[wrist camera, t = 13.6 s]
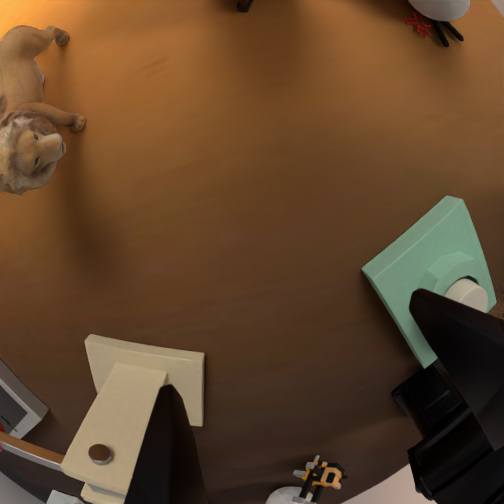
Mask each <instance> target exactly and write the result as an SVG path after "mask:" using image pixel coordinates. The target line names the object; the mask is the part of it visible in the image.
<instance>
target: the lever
mask: <svg viewBox="0 0 504 504" xmlns="http://www.w3.org/2000/svg"><path fill="white" fill-rule="evenodd" d="M3 449H6V450H8V451H10V452H12V453H15V454H17V455H19V456H22V457H24V458H26V459H29V460H31V461H34V462H36V463H39V464H42V465H44V466H47V467H50V468H53V469H56V470H59V471H62V472H63V470H62V469H61V467H60V465H61V463H62V461H63V459H64V457H65V455H63V454H59V453H56V452H53V451H50V450H47V449H44V448H41V447H39V446H36V445H33V444H31V443H28V442H25V441H23V440H20V439H18V438H16V437H13V436H11V435H9V434H6V432H5V429H4V427H3V425H2V423H1V422H0V452H1V451H2V450H3ZM87 484H88V486H89V487H90V489H91V490H92V492H96V493H100V494H104V495H108V496H113V497H117V498H122V499H125V498H126V495H124V494H120V493H117V492H113V491H110V490H107V489H104V488H101V487H98V486H95V485H92V484H89V483H87Z"/></svg>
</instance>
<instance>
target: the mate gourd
mask: <svg viewBox="0 0 504 504" xmlns="http://www.w3.org/2000/svg"><path fill="white" fill-rule="evenodd" d="M252 2H253V0H239V2H238V5H237V10H238V11H241V12H248V10H249V8H250V6H251V4H252Z"/></svg>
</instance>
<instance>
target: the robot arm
mask: <svg viewBox="0 0 504 504" xmlns="http://www.w3.org/2000/svg"><path fill="white" fill-rule="evenodd" d="M409 312H410V314H411V315H412V317H413V319H414V320H415V322H416V324H417V326H418V327H419V329H420V331H421V333H422V334H423V336H424V338H425V340H426V341H427V343H428V344H429V346H430V347H431V349H432V350H433V352H434V353H435V355H436V356H437V359H436V360H435V361H434V362H433V363H431V364H430V365H429V366H428V367H426V368H423V369H421V370H420V371H419V372H418V373H416V374H415V375H414V376H412V377H411V378H410V379H408V380H407V381H406V382H404V383H403V384H401V385H400V386H399V387H397V388H396V389H394V390H393V392H392V395H393V397H394V398H395V400H396V401H397V402H398V404H399V405H400V406H401V408H402V409H403V410H404V412H405V413H406V414H407V416H408V417H409V418H410V419H413V421H414V423H415V425H416V426H417V428H418V430H419V432H420V434H421V436H422V438H423V440H422V441H420V442H419V443H418V444H416V445H415V446H414V447H411V448H409V449H408V450H407V452H408V455H409V457H408V459H409V463H410V466H411V470H412V474H413V478H414V482H415V489H416V491H417V492H418V493H422V494H423V495H424V497H425V498H426V499H428V500H430V501H432V500H434V501H435V502H436V503H437V504H504V320H502V319H499V318H497V317H494V316H492V315H489V314H487V313H485V312H482V311H480V310H477V309H475V308H472V307H470V306H467V305H465V304H462V303H460V302H457V301H455V300H452V299H450V298H447V297H445V296H442V295H439V294H437V293H434V292H432V291H429V290H427V289H424V288H418V289H417V290H415V291H413V292H412V294H411V298H410V302H409ZM132 477H133V478H131V481H130V485H129V488H128V491H127V494H126V498H125V501H124V503H123V504H208V500H207V496H206V491H205V487H204V483H203V478H202V473H201V469H200V464H199V459H198V454H197V449H196V443H195V439H194V436H193V432H192V429H191V426H190V422H189V419H188V416H187V412H186V409H185V405H184V402H183V399H182V397H181V395H180V394H179V392H178V391H177V390H176V388H175V387H174V386H173V385H172V384H168V385H164V386H161V387H160V388H159V391H158V394H157V397H156V400H155V403H154V406H153V409H152V412H151V415H150V418H149V422H148V425H147V428H146V431H145V434H144V438H143V441H142V444H141V447H140V451H139V454H138V457H137V461H136V464H135V467H134V471H133V474H132Z"/></svg>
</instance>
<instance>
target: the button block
mask: <svg viewBox="0 0 504 504" xmlns="http://www.w3.org/2000/svg"><path fill="white" fill-rule="evenodd" d="M361 270H362V271H363V273H364V274H365V276H366V277H367V279H368V280H369V282H370V283H371V285H372V286H373V288H374V289H375V291H376V293H377V294H378V296H379V297H380V299H381V300H382V302H383V304H384V305H385V307H386V308H387V310H388V312H389V313H390V315H391V317H392V318H393V320H394V321H395V323H396V325H397V326H398V328H399V330H400V331H401V333H402V335H403V337H404V338H405V340H406V342H407V343H408V345H409V347H410V349H411V350H412V352H413V354H414V356H415V357H416V358H417V359H418V361H419V362H420V363H421V365H422V366H423V367H424V368H426V367H428V366H429V365H430V364H431V363H433V362H434V361H435V360H436V359H437V356H436V355H435V353H434V352H433V350H432V349H431V347H430V346H429V344H428V343H427V341H426V340H425V338H424V336H423V334H422V333H421V331H420V329H419V327H418V326H417V324H416V322H415V320H414V319H413V317H412V315H411V314H410V312H409V302H410V298H411V294H412V292H413V291H415V290H417V289H418V288H424V289H427V290H429V291H432V292H434V293H437V294H439V295H442V296H444V294H445V292H446V291H447V289H448V288H449V287H450V286H451V285H452V284H453V283H454V282H456V281H458V280H460V279H469V280H471V281H473V282H474V283H476V284H477V285H479V286H480V287H482V288H483V289H484V290H485V291H486V293H487V295H488V306H487V310H486V313H487V312H488V311H489V310H490V309H491V308H492V307H493V306H494V305H495V304H496V303H497V302H496V297H495V293H494V289H493V285H492V281H491V278H490V274H489V271H488V267H487V264H486V261H485V257H484V254H483V251H482V248H481V245H480V242H479V239H478V236H477V234H476V231H475V228H474V225H473V223H472V220H471V218H470V215H469V213H468V210H467V208H466V205H465V203H464V201H463V199H459V198H455V197H451V196H447V195H446V196H445V197H444V198H443V199H442V200H441V201H440V202H439V203H437V204H436V205H435V206H434V207H433V208H432V209H431V210H430V211H429V212H427V213H426V214H425V215H424V216H423V217H422V218H421V219H420V220H418V221H417V222H416V223H415V224H414V225H413V226H412V227H410V228H409V229H408V230H407V231H406V232H405V233H403V234H402V235H401V236H400V237H399V238H398V239H396V240H395V241H394V242H393V243H392V244H390V245H389V246H388V247H387V248H386V249H384V250H383V251H382V252H381V253H379V254H378V255H377V256H376V257H375V258H373V259H372V260H371V261H370V262H368V263H367V264H366V265H365V266H363V267H362V268H361Z"/></svg>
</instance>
